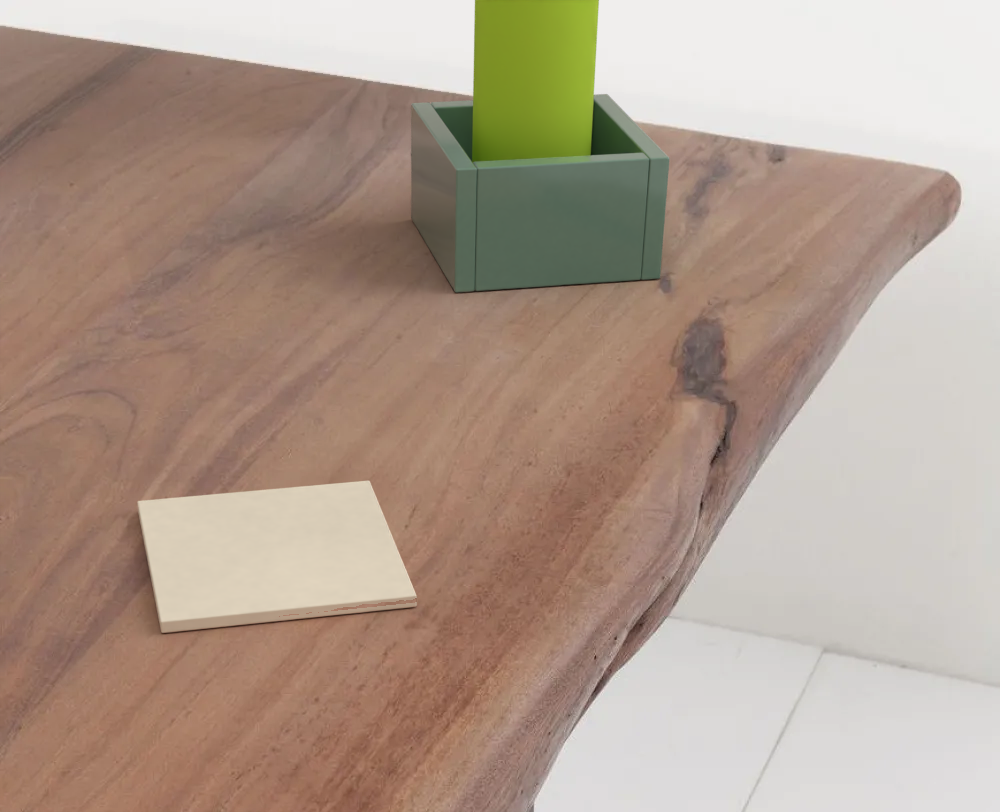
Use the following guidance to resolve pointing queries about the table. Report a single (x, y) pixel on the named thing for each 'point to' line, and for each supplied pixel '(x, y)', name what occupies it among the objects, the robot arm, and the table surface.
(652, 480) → the table surface
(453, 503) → the table surface
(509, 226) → the holder
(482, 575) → the table surface
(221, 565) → the mat
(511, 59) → the soap dispenser
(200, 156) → the table surface
